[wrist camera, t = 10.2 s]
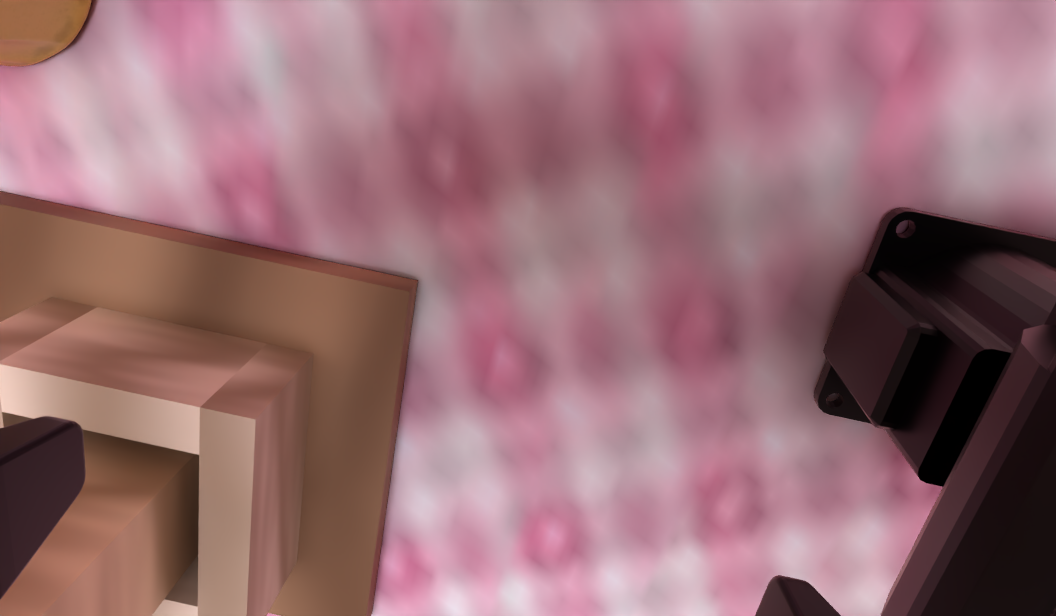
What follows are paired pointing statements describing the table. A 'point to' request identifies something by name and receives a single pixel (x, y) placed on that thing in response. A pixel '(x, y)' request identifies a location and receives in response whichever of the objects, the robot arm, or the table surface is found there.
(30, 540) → the robot arm
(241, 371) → the well
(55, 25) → the vase
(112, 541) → the peg
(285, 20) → the table surface
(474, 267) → the table surface
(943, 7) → the table surface
